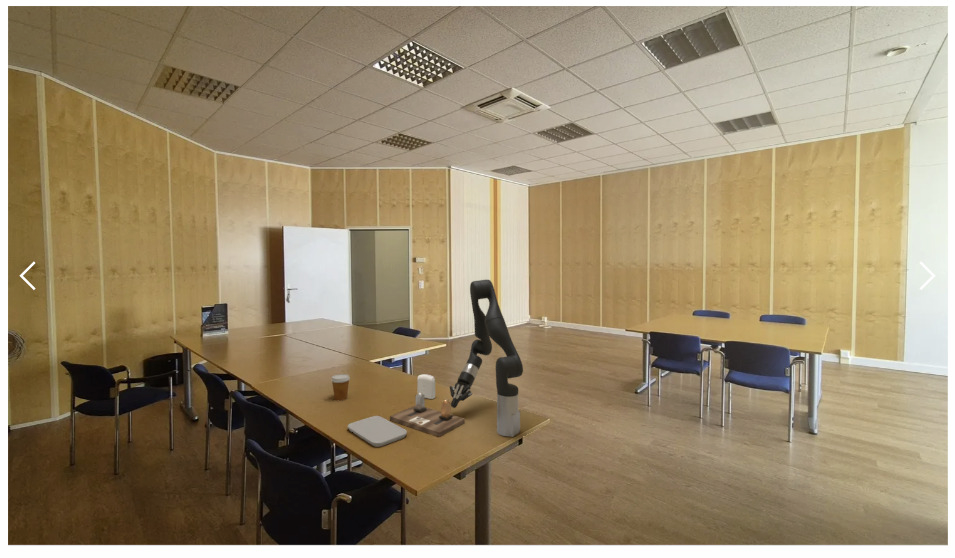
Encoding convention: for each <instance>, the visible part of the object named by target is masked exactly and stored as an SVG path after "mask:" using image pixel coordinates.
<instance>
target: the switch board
mask: <svg viewBox="0 0 955 558" xmlns="http://www.w3.org/2000/svg"><path fill="white" fill-rule="evenodd" d="M425 407H426V408H427V410H425V411H423V412H417V411H414V408H416V404H414V405H413V406H410V407H408V408H405V409H403V410H401V411H399V412H396V413H394V414H392V415H390V416H389V421H390V422H392V423H395V424H396V423H397V424H399V425H402V426H406V427H407V428H412V429H414V430H417V431H419V432H423V433H426V434H429V435H431V436H435V437H436V438H437V437H438V438H441V437H442V436H444V435H446V434H447V433H450V432H452V431H454V430H455V429H456V428H458V427H460V426H462V425H463V424H466V423H465V420H466V419H465V418H464V417H461V416H457V415H453V414H452V415H453V417H452V418H450V419H449V420H443V419H440V418H439V416H440V415H441V410H436V409H433V408H431V407H430V408H429V407H427V406H425Z"/></svg>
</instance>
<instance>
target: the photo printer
mask: <svg viewBox="0 0 955 558" xmlns="http://www.w3.org/2000/svg"><path fill="white" fill-rule="evenodd" d="M416 380H417V381H416V385H417V386H416V387H417V388H416V390H417V394H418V393H419V392H422V393H423V394H424V395H425V399H430V400H433V399H436V378H435V377H434V376H433V375H430V374H426V373H425V374H423V373H422V374H420V375H418V376H417V379H416Z"/></svg>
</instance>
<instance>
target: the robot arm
mask: <svg viewBox="0 0 955 558" xmlns="http://www.w3.org/2000/svg"><path fill="white" fill-rule="evenodd" d="M469 285H470V286H469V294H470V300H471V308H472V313H473V322H474V336H475V338H476V339H475V340H473V342H472V343H471V348H470V352H469V357H468V359H467V361H466V363H465V365H464V366H463V368H462V370H461V372H460V373H459V375H458V378H457V382H456V383H455V384H454V385H449V393H450V396H451V397H452V400H451V408H453V409H456V408H457V406H458V405H459V403H460V402H461V401H462V402H464V401H465V400H467V399H468V398H470V397H471V396H472V395H473V392H472V391H471V387H472V386H473V384H474V382H475V379H476V377H477V376H478V372H479V370H480V369H481V366H482V364H483V358H481V357H480V356H479V355H482V356H489V355H490V354H491V353H492V351H493V343H492V340H493V342H494V343H496V345H498V346H499V347H500V348H501V349H502V351H503V352H504V353H505V355H506V356H501V357H498V358H497V359H496V361H495V385H496V433H497V434H498V435H499V436H502V437H512V438H513V437H515V436H517V435H518V434H519V433H520V432H521V430H520V429H521V410H519V388H518V386H517V385H515V384H513V383H509V379H512V378H513V379H514V378H515V379H516V378H520V377H521V376H523V372H524V366H523V362H522V360H521V357H520V355H519V353H518V351H517V349H516V346H515V345H514V342H513V339H512V337H511V335H510V333H509V329H508V326H507V323H506V321H505V318H504V316H503V314H502V310H501V308H500V305H499V302H498V298H497V295H496V291H495V288H494V284H493V282H492V281H491V279H480V280H473V281H471V282H470V284H469ZM483 299H484V300H486V299H487V300H488V303H489V305H488V308H487V312H486V314H485V313H484V311H483V310H482V308H481V307H480V304H479V300H483ZM478 354H479V355H478Z"/></svg>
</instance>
